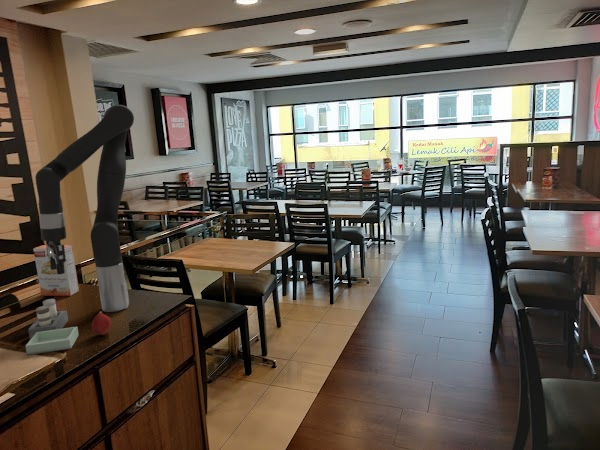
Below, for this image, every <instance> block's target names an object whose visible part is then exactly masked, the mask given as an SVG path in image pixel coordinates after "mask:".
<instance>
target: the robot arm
mask: <svg viewBox="0 0 600 450" xmlns="http://www.w3.org/2000/svg"><path fill="white" fill-rule="evenodd" d="M134 120H135V117H134V113H133V111H132V109H130V108H129V107H128V106H126V105H123V104H114V105H112V106H110V107H109V108H107V109H106V111H105V112H104V114H103V117H102V119H101V120H100V121H99V122H98V123H97V124H96V125H95V126H94V127H92V128H91V129H90V130H88V132H86V133H85V134H83V135H82V136H81V137H79V138H78V139H75V141H73V142H72V143H70V144H69V145H68V146H67V147H66V148H65V149H63V150H62V151H60V153H58V155H57V156H56V157H55V158H54V159H53V160H51V161H50V162H48V163H47V164H46V165H44V166H43V167H42V168H40V169H39V170H38V171H37V172H36V174H35V184H36V190H37V196H38V210H39V227H40V234H41V235H40V236H41V240H42V241H43V242H45V245H46V247H47V256H48V258H49V259H51V260H50V266H51V269H52V270H55V269H57V274H64V273H65V270H64V262H66V258H65V250H64V244H62V243H61V240H66V239H67V230H66V220H65V215H64V208H63V207H64V206H63V201H62V196H61V181H62V180H64V178H66V177H67V176H68V175H70V173H72V172H73V171H75V170H77V169H78V168H79V167H80V166H81V165H82V164H84V163H85V162H86V161H87V160H89V158H91V156H93V155H94V154H95V153H96V152H97V151H98V150H99V149H101V148H102V150H101V153H100V159H99V164H98V170H97V179H96V201H97V205H96V212H95V217H94V222H93V226H92V228H91V230H90V242H91V248H92V254H93V255H92V256H93V260H94V264H95V271H96V276H97V277H96V278H97V283H98V290H99V298H100V304H101V311H102V312H105V313H111V312H112V313H114V312H119V311H122V310H125V309H128V308H129V304H130V298H129V293H128V292H129V291H128V285H127V280H126V278H125V271H124V270H125V269H124V264H123V257H122V256H123V255H122V251H121V242H120V235H119V234H120V233H119V223H118V221H119V208H120V203H121V200H122V197H123V193H124V190H125V189H124V187H125V183H126V175H127V160H126V141H127V135H128V131H129V129H130V128H132V126H133V124H134V123H135V122H134ZM59 258H61V259H59Z"/></svg>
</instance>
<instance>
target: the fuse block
mask: <svg viewBox="0 0 600 450" xmlns="http://www.w3.org/2000/svg"><path fill="white" fill-rule="evenodd" d="M57 315H58V317H56V318H51V323H52V325H50V326H42V327H39V323H38V318H37V319H36V320H34V322H33V323H32V325H31V326H30V327H29V328H28V337H29V341H30V340H31V338H32V337H33V336H34V335H35V334H36V332H42V331H49V330H56V329H63V328H64V326H65V325H66V323H67V322H68V321H69V315H68V311H67V310H60V311H57Z"/></svg>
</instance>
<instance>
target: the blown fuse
mask: <svg viewBox="0 0 600 450" xmlns="http://www.w3.org/2000/svg"><path fill="white" fill-rule="evenodd" d="M35 311H36V317H37V319H38V323H39V327H42V326H50V325H52V323H51V316H50V312H49V306H43V305H42V306H38V307H36V309H35Z"/></svg>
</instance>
